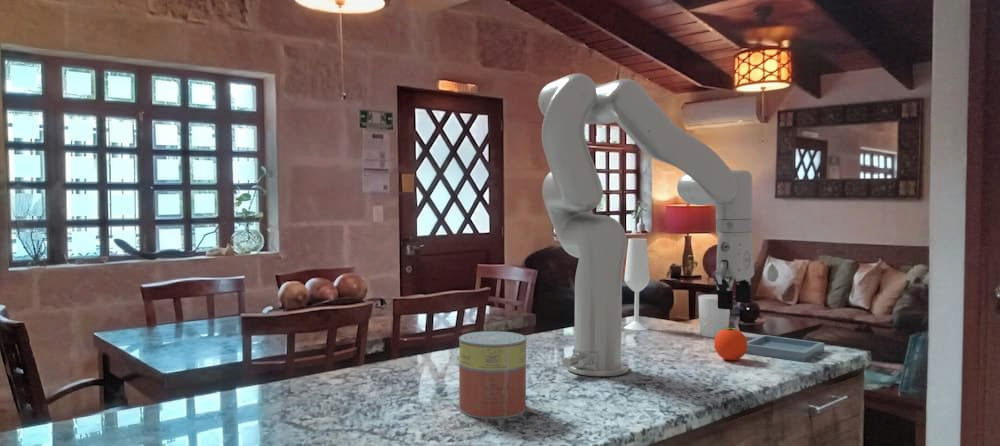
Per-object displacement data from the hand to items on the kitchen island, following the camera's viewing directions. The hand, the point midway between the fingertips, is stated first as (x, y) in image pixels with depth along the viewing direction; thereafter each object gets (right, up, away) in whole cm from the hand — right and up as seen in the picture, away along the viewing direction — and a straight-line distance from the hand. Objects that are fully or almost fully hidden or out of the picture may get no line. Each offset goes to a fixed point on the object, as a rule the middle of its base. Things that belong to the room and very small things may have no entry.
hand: (734, 305), depth 156 cm
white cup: (+3, -11, +27) cm, 29 cm away
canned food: (-52, -13, -36) cm, 65 cm away
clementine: (-1, -12, 0) cm, 12 cm away
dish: (+14, -12, +8) cm, 19 cm away
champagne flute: (-14, -10, +37) cm, 41 cm away
